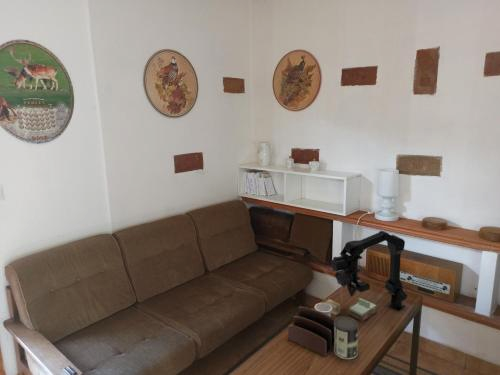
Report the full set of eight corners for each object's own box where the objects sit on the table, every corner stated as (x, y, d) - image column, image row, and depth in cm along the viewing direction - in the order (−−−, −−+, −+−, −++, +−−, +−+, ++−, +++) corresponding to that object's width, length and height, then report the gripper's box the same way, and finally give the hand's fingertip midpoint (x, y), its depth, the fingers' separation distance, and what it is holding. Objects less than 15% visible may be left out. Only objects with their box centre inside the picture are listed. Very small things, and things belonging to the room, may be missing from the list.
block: (329, 307, 192) (329, 299, 191) (340, 312, 187) (340, 304, 186) (324, 309, 190) (324, 302, 189) (335, 315, 184) (335, 307, 183)
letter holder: (299, 329, 174) (299, 303, 171) (336, 345, 161) (337, 317, 158) (287, 339, 166) (287, 312, 163) (325, 357, 154) (326, 328, 150)
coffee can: (356, 345, 160) (357, 317, 157) (358, 360, 151) (359, 331, 148) (333, 343, 162) (333, 315, 159) (333, 358, 153) (334, 328, 150)
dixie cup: (314, 320, 181) (314, 302, 178) (331, 320, 179) (331, 302, 177) (314, 329, 172) (314, 311, 170) (332, 331, 171) (332, 312, 169)
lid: (363, 301, 191) (363, 294, 190) (376, 306, 185) (376, 299, 184) (349, 309, 183) (349, 302, 182) (362, 315, 177) (362, 308, 176)
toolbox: (361, 306, 192) (361, 298, 191) (377, 313, 185) (377, 305, 184) (348, 314, 184) (348, 307, 184) (363, 322, 177) (364, 314, 177)
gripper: (326, 264, 181) (327, 292, 184) (353, 279, 165) (352, 309, 168) (343, 259, 186) (343, 286, 189) (370, 273, 170) (370, 302, 173)
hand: (351, 296), depth 180 cm, fingers closed
